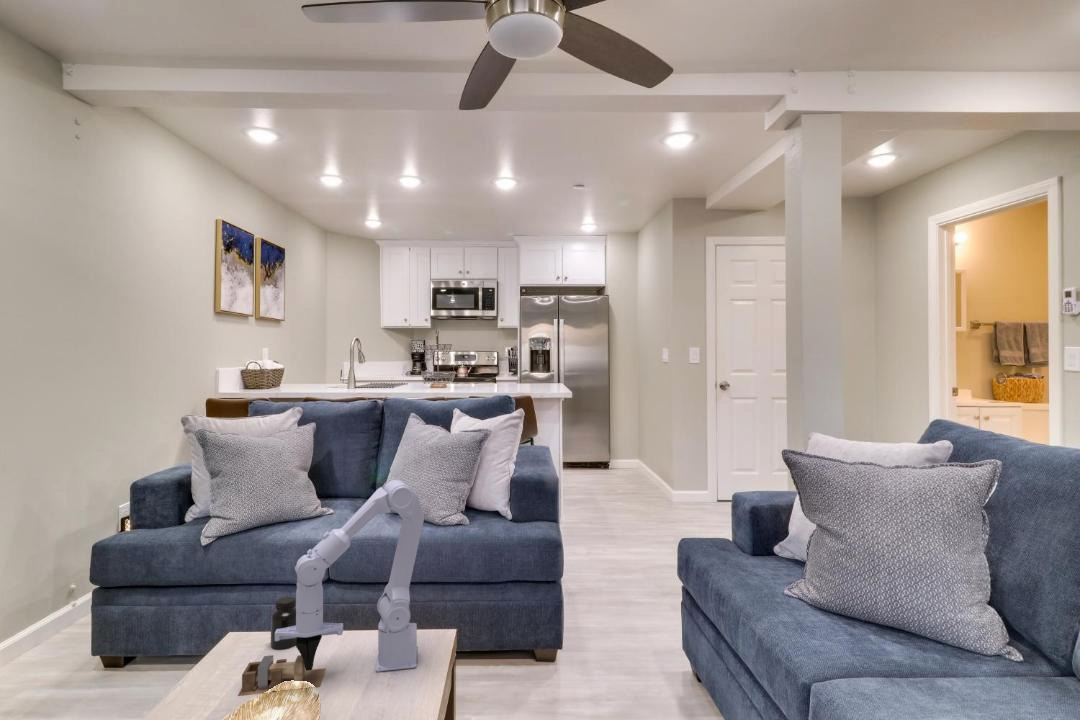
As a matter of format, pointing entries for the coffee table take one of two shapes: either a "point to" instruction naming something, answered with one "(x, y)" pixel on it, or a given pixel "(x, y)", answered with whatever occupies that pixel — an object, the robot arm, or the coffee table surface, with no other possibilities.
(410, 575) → the robot arm
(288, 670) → the shaft
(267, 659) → the collar
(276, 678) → the jig
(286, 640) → the supplement bottle
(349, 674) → the coffee table surface
